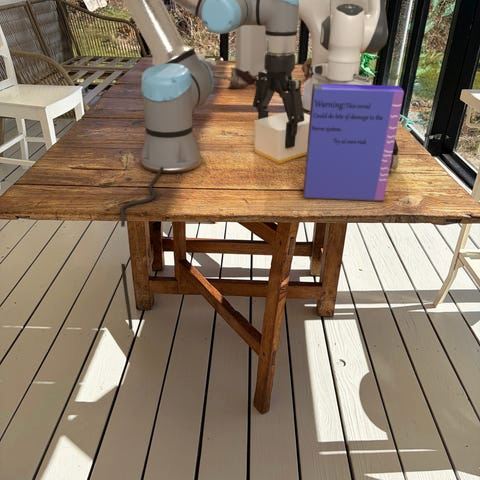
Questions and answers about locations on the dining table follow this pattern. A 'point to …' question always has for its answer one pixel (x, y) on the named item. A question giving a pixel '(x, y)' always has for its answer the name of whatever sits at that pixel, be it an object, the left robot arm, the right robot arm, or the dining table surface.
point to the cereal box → (351, 141)
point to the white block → (250, 48)
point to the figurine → (239, 78)
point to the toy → (198, 58)
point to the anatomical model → (307, 67)
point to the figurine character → (394, 157)
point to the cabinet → (279, 138)
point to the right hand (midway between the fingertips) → (336, 120)
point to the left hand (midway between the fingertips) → (275, 140)
